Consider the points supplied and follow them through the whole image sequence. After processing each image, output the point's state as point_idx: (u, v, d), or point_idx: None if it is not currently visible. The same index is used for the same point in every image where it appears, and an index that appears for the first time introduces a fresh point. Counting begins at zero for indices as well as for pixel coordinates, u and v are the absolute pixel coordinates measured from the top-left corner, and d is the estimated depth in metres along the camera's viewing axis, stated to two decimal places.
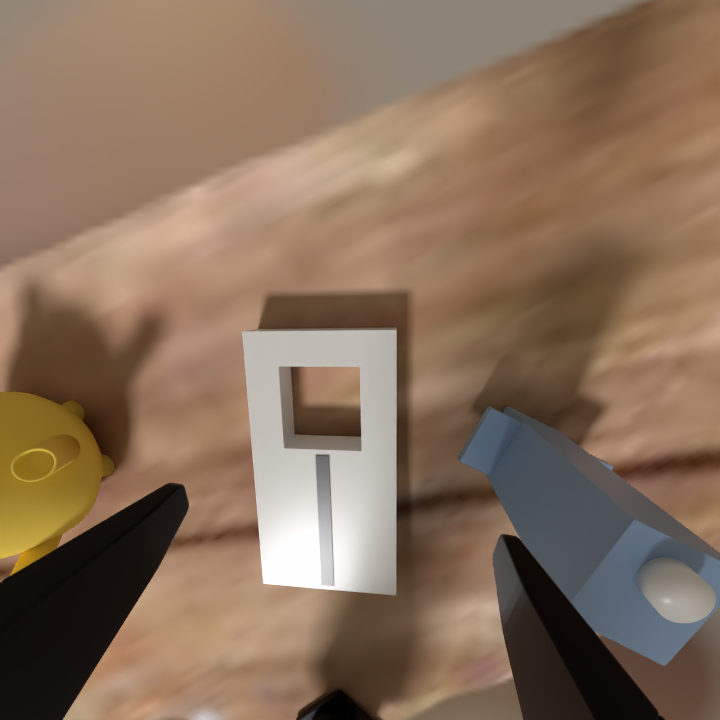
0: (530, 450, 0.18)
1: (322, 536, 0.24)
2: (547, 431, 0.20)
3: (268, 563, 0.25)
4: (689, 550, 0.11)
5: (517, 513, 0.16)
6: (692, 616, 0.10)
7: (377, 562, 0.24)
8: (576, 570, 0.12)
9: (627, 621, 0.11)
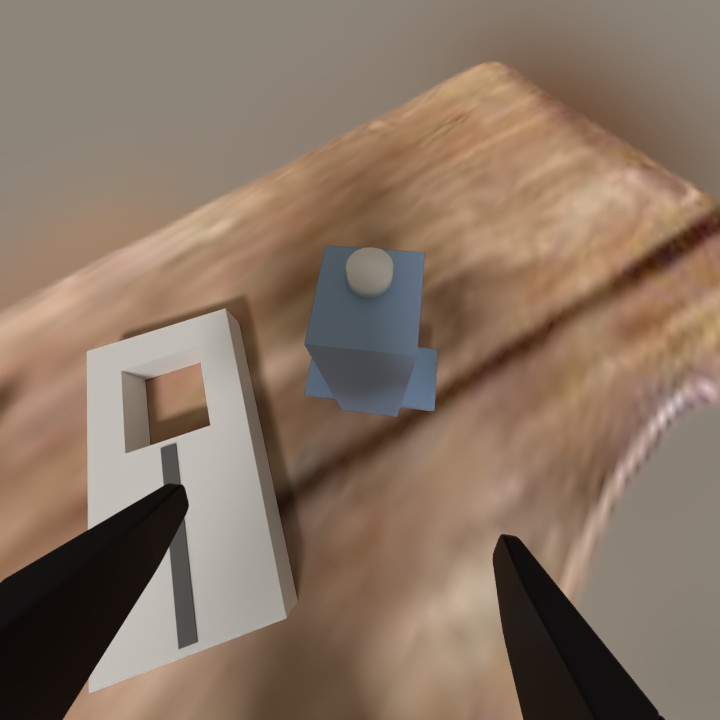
0: None
1: (175, 559, 0.18)
2: None
3: None
4: None
5: None
6: (383, 277, 0.11)
7: (251, 569, 0.18)
8: None
9: (362, 326, 0.12)
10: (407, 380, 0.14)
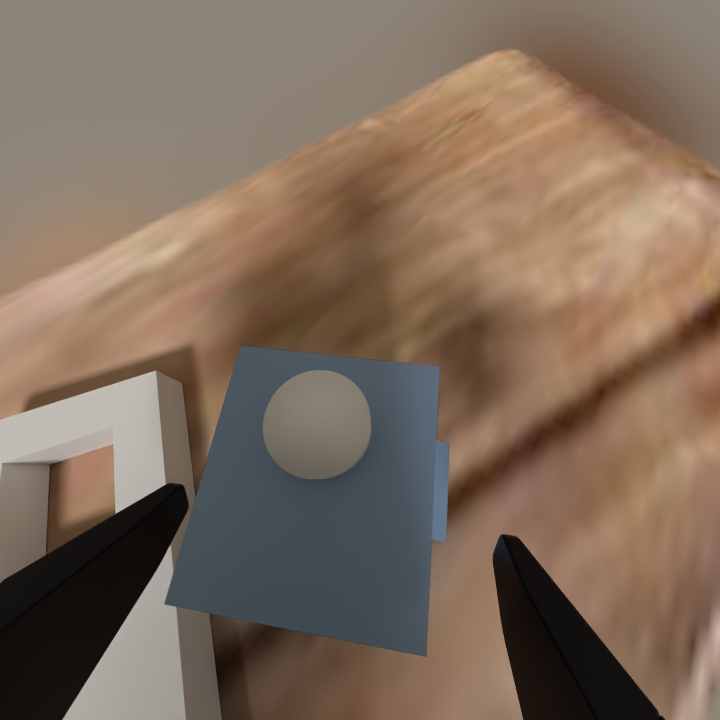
0: None
1: None
2: None
3: None
4: (338, 362, 0.06)
5: None
6: (347, 451, 0.05)
7: None
8: None
9: (300, 556, 0.05)
10: None
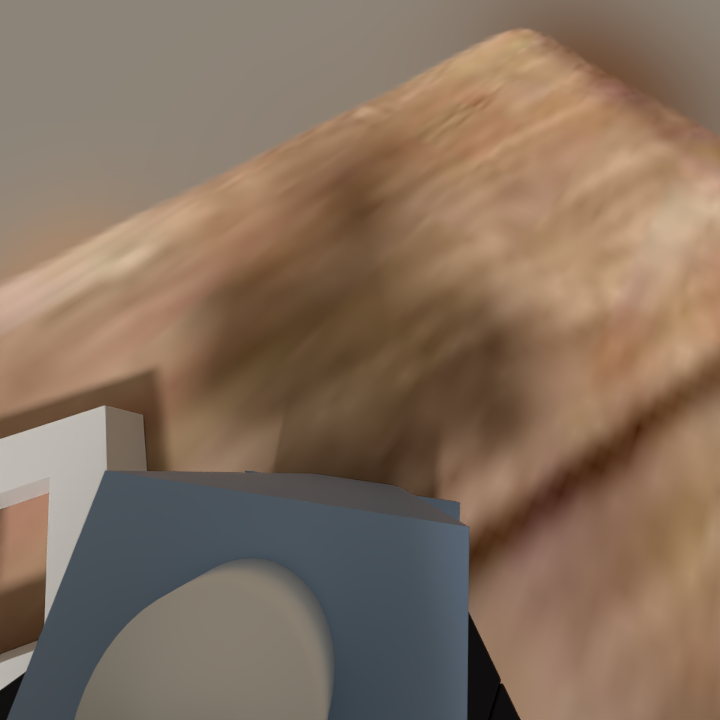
0: None
1: None
2: (342, 479, 0.12)
3: None
4: (277, 511, 0.03)
5: None
6: None
7: None
8: None
9: None
10: None
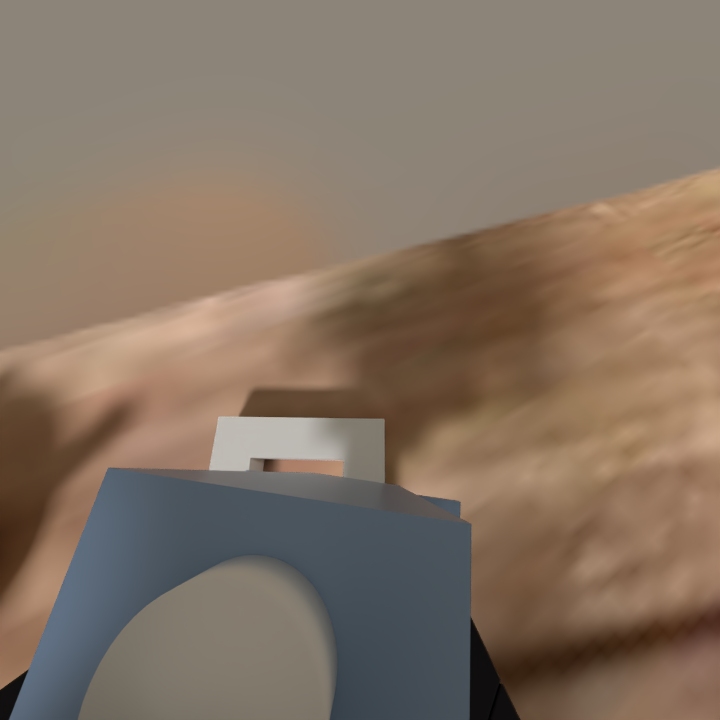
0: None
1: None
2: None
3: None
4: (280, 508, 0.03)
5: None
6: None
7: None
8: None
9: None
10: None
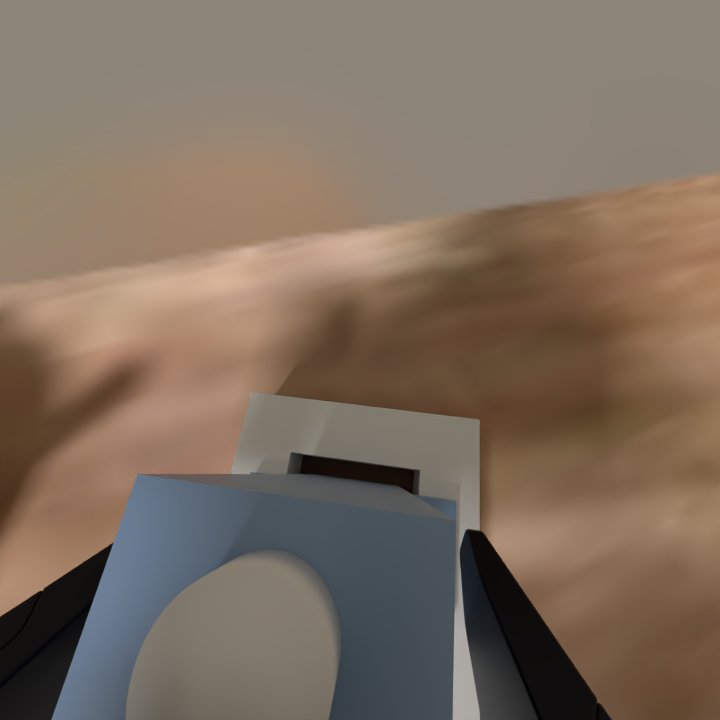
0: None
1: None
2: (343, 479, 0.13)
3: None
4: (290, 508, 0.04)
5: None
6: None
7: None
8: None
9: None
10: None
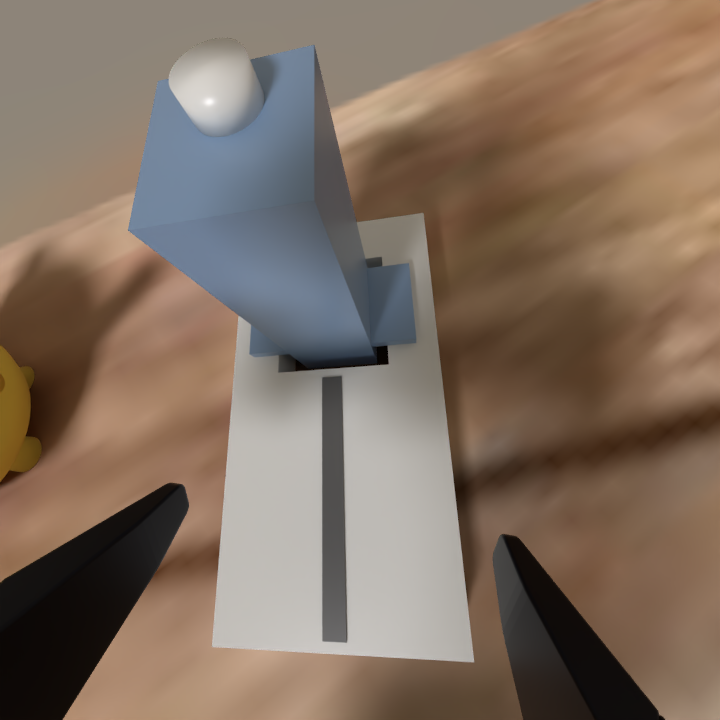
0: None
1: (327, 524, 0.14)
2: None
3: (228, 594, 0.14)
4: None
5: None
6: (231, 76, 0.06)
7: (428, 575, 0.13)
8: None
9: (220, 179, 0.07)
10: (343, 281, 0.09)
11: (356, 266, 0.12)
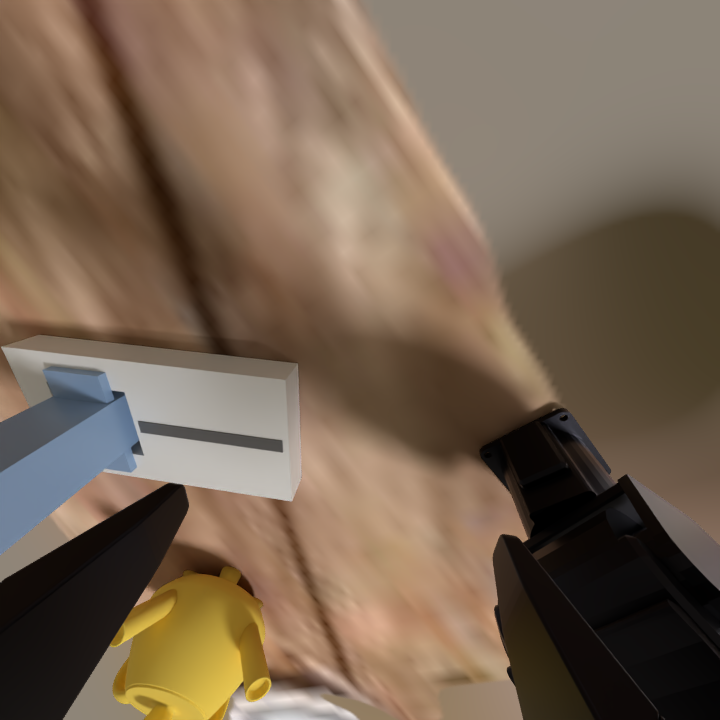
0: None
1: (226, 441, 0.22)
2: None
3: (267, 492, 0.24)
4: None
5: None
6: None
7: (245, 393, 0.20)
8: None
9: None
10: (5, 470, 0.16)
11: (21, 436, 0.18)
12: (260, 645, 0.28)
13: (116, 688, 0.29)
